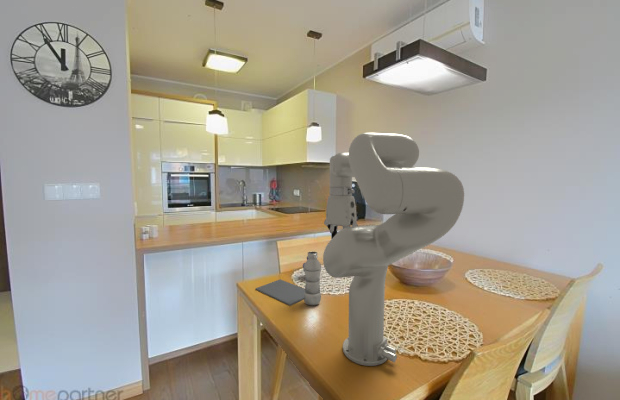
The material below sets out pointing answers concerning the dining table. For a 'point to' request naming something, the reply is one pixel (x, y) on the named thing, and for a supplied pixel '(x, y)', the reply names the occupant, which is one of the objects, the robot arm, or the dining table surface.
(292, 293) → the mat
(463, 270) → the dining table surface
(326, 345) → the dining table surface
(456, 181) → the robot arm
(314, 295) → the plastic bottle
